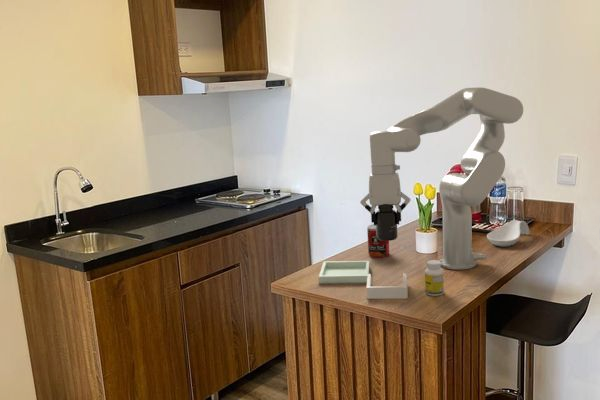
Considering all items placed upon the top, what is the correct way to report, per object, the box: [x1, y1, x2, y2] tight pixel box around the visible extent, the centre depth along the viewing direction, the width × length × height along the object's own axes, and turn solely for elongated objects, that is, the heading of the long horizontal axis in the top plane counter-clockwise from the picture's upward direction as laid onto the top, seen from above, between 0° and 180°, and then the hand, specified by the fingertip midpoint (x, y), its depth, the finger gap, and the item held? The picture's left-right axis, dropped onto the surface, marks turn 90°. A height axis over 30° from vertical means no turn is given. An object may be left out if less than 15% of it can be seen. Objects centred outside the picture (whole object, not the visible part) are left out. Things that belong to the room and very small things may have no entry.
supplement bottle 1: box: [375, 204, 399, 242], centre depth 187 cm, size 7×7×12 cm
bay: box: [365, 272, 409, 300], centre depth 178 cm, size 12×12×4 cm
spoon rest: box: [486, 219, 531, 248], centre depth 222 cm, size 24×12×7 cm, turn 135°
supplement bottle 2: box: [424, 259, 445, 297], centre depth 173 cm, size 5×5×10 cm
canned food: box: [366, 223, 390, 259], centre depth 215 cm, size 8×8×11 cm
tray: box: [318, 260, 371, 285], centre depth 195 cm, size 16×16×2 cm
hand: (386, 223), depth 188 cm, fingers closed on supplement bottle 1, 6 cm apart
